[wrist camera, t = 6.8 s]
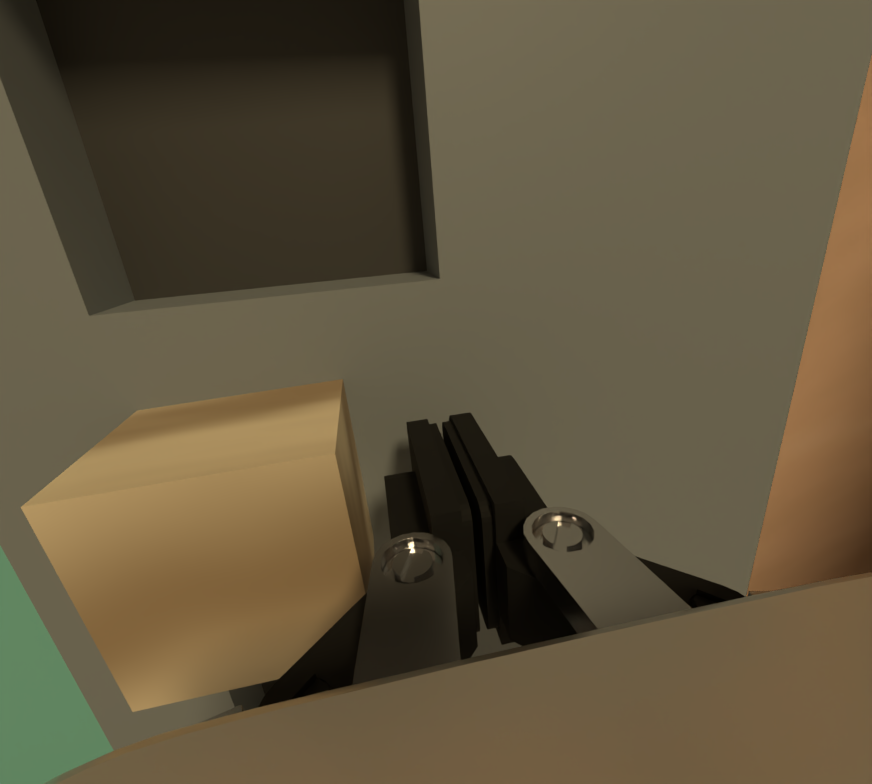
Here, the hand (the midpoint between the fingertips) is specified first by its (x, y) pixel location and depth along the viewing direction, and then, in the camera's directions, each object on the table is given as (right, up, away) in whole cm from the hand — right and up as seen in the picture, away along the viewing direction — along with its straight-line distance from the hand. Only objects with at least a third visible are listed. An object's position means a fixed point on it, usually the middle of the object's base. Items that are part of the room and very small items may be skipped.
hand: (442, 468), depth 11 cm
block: (-5, 0, +1) cm, 5 cm away
